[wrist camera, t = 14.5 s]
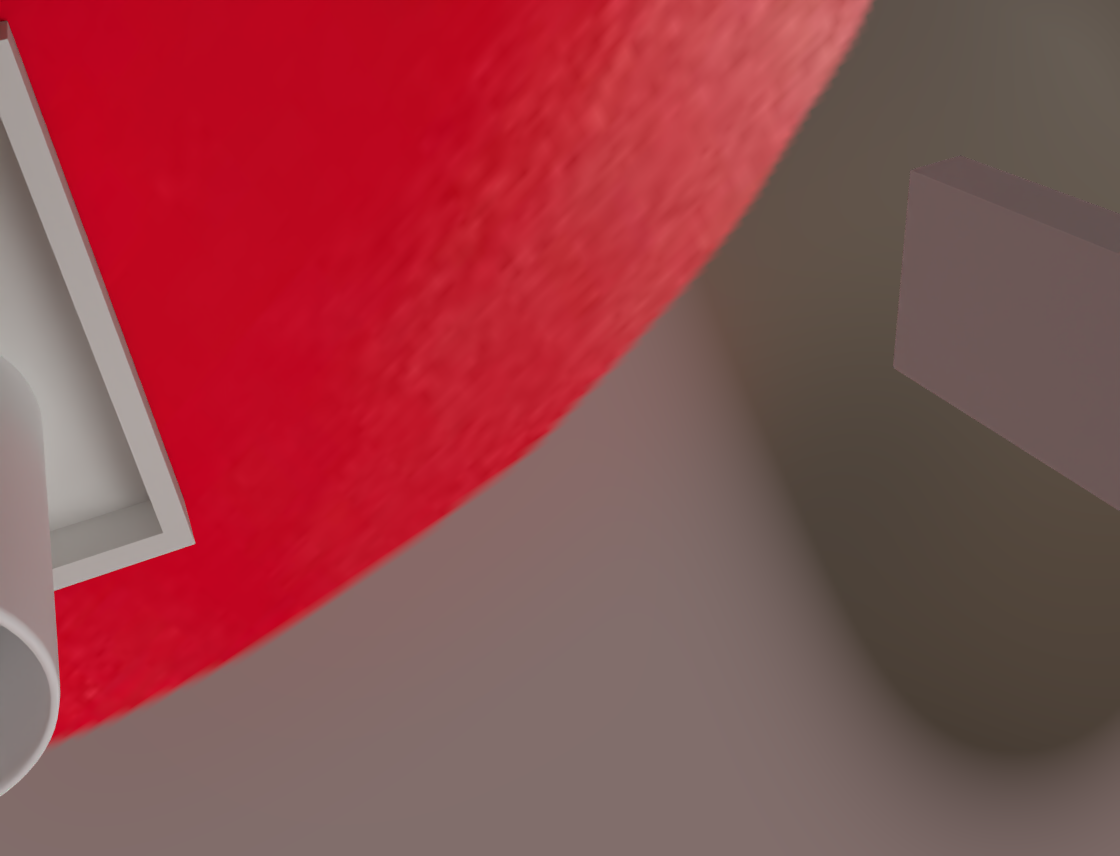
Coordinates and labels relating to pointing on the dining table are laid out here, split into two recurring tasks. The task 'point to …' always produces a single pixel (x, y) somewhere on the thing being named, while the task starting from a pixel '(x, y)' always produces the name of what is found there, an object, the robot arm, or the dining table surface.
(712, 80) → the dining table surface
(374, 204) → the dining table surface
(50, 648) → the cup
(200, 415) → the dining table surface
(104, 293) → the tray
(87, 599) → the dining table surface
